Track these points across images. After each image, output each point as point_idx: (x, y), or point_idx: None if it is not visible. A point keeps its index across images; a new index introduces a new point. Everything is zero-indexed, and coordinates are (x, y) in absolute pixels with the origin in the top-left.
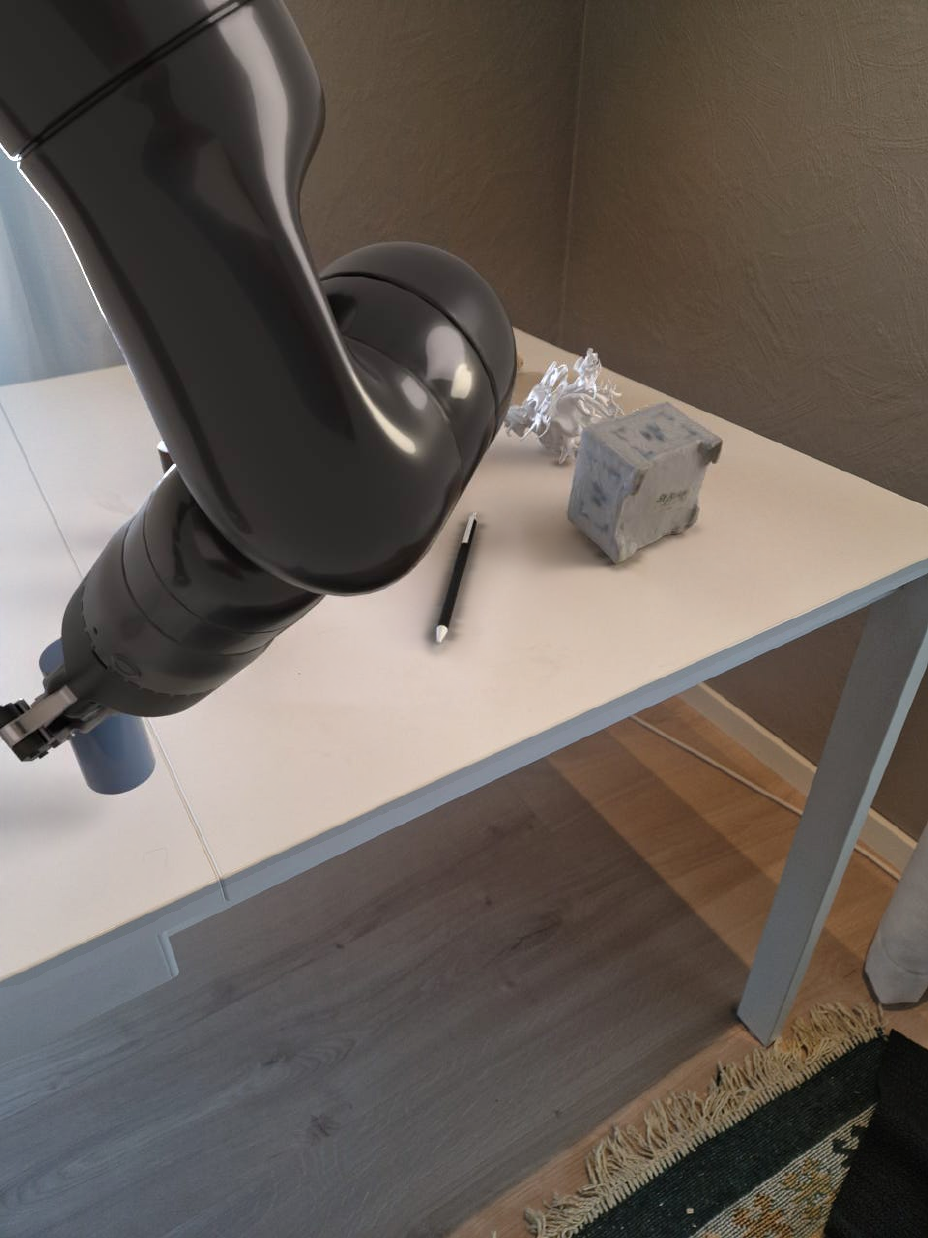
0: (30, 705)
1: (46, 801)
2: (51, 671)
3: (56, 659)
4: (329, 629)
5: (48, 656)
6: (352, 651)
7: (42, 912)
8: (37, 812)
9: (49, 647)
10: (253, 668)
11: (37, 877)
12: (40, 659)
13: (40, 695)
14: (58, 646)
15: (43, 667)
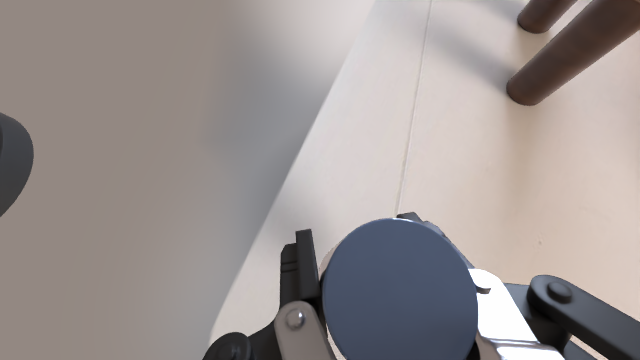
0: (274, 324)
1: (296, 217)
2: (334, 316)
3: (358, 282)
4: (592, 210)
5: (350, 259)
6: (601, 255)
7: (237, 330)
8: (285, 223)
9: (363, 233)
10: (504, 203)
11: (252, 290)
12: (335, 257)
13: (295, 325)
14: (377, 242)
15: (328, 287)
